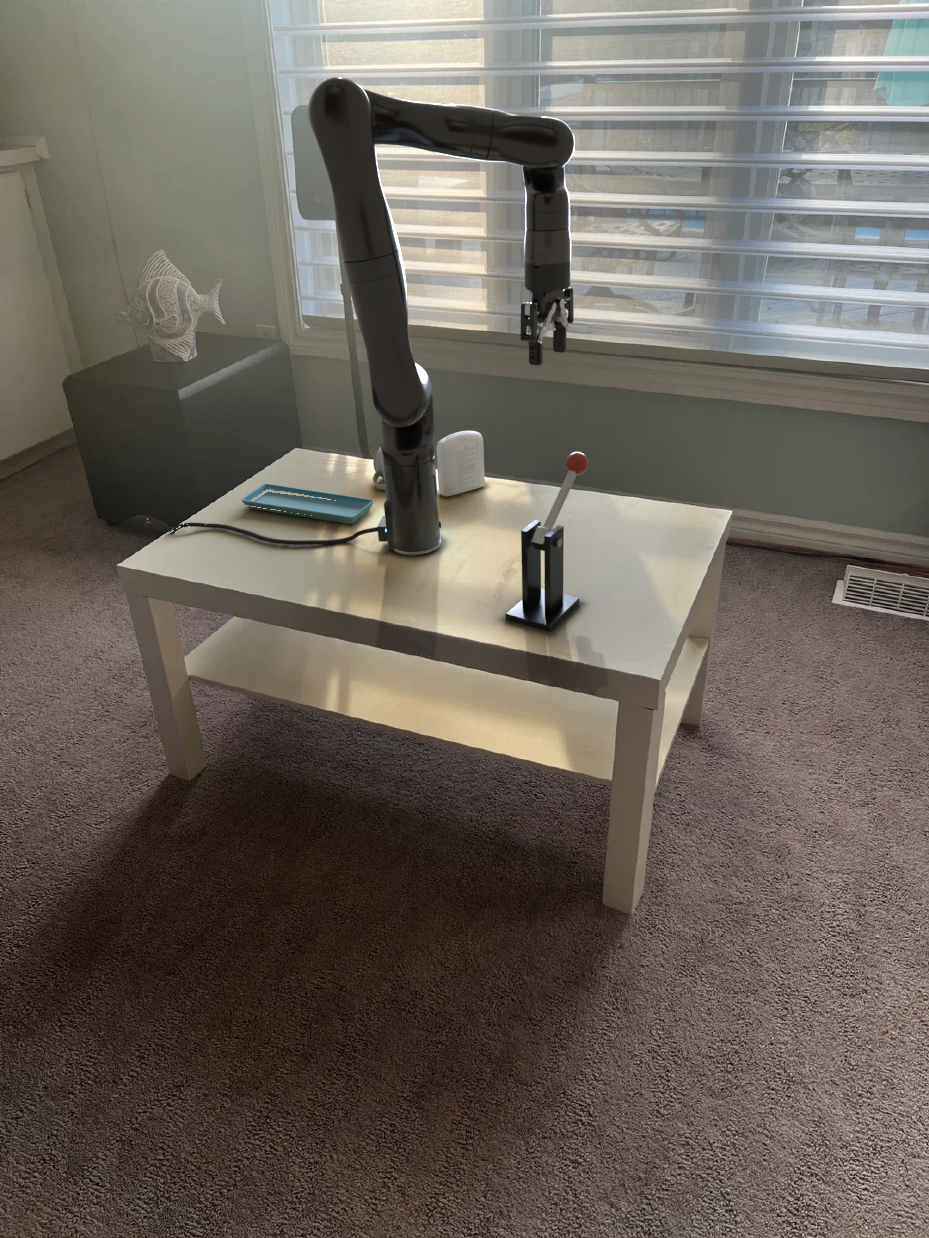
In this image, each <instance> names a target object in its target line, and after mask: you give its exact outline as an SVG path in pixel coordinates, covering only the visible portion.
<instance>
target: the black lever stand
mask: <svg viewBox="0 0 929 1238" xmlns="http://www.w3.org/2000/svg"><path fill="white" fill-rule="evenodd" d="M541 525H542V523H541V520H538V519H534V520H533V521H532V522H531V523H529V524H528V525H526V526H525V527H524V528H523V529H521V530H520V543H521V545H520V547H521V549H520V550H521V587H522V588H521V595H522V596H521V597H522V598H521V600H520V601H518V602H517V603H516V604H515V605H514V606H512V607H511V609H509V610H508V611H507V612H506V613H505V620H506V621H509V622H513V623H517V624H520V625H522V626H523V625H524V626H528V627H530V628H534V629H538V630H542V631H544V632H548V633H551V632H552V631H553V630H554V629H555V628H556V627H557V626H558V625H559V624H560V623H561V622H562V621H563V620H564V619H565V618H566V617H567V616H568V615H569V614H571V613H572V611H574V609H575V608H576V607H578V605H580V597H578V596H574V595H570V594H565V593H564V552H565V551H564V546H565V545H564V544H565V542H564V538H565V537H564V536H565V535H564V533H565V532H564V531H565V529H564V528H565V527H564V525H560V524H557V525H555V527H553V528H552V530H551V531H550V532H549V533H547V534H546V535H545V536H544V551H543V552H544V553H543V554H544V555H543V556H544V561H543V563H544V588H543V587H542V550H538V549H535V548H534V546H533V545H532V543H531V539H532V537H533V535H534V533H535V531H536V529H537V526H539V527H542V526H541Z"/></svg>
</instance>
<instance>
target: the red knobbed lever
mask: <svg viewBox="0 0 929 1238" xmlns="http://www.w3.org/2000/svg"><path fill="white" fill-rule="evenodd" d="M589 463H590V462H589V459H588V457H587V455H586V454H585V453H583V452H581V451H574V452H571V453H570V454H568V456H567V457H566V459H565V468H566V470H567V471H568V472H567V474H566V476H565V478H564V480H563V483H562V485H561V486H560V488H559V492H558V494H557V496H556V498H555V500H554V502H553V505H552V506H551V508H550V511H549V513H548V515H547V517H546V520H545V522H544V524H543V526H541V527H539V526H537V529H536V531H535V533H534V535H533V537H532V539H531V543H532V545H533V546H534V548H535V549H538V550H541V552H544V536H545V535H546V534H547V533H549V532H550V531H551V530H552V529H554V526H555V523H556V521H557V519H558V517H559V515H560V514H561V513H560V512H561V511H562V509H563V506H564V504H565V502H566V500H567V498H568V496H569V493H570V491H571V488H572V486H573V484H574V482H575V480H576V477H577V476H580V475H583V474H584V473H586V471H587V470H588V468H589V465H590V464H589Z"/></svg>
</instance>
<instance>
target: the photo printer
mask: <svg viewBox="0 0 929 1238" xmlns="http://www.w3.org/2000/svg"><path fill="white" fill-rule="evenodd" d="M435 448H436V467H437V481H438V482H437V483H438V484H437V485H438V491H439V494H440V495H441V496H443V497H451V496H455V495H459V494H462V493H466V492H469V491H473V490H477V489H479V488H482V487H484V486H485V485H486V479H485V452H484V451H485V450H484V449H485V448H484V438H483V436H482V434H481V432H478V431H476V430H462V431H457V432H453V433H451V434H448V435H446V436H444V437H442V438H441V439H440V440H438V442H437V443H436V447H435Z"/></svg>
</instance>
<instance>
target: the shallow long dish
mask: <svg viewBox="0 0 929 1238" xmlns="http://www.w3.org/2000/svg"><path fill="white" fill-rule="evenodd" d="M266 489H268V490H269V489H271V490H274V491H285V492H291V493H298V494H304V495H309V496H314V497H322V498H327V499H331V500H327V499H319V498H311V497H304V496H296V495H288V494H280V493H272V492H267V493H265V494H264V495H262V496H261V497H259V498H258V499H256V500H255V501H251V500H252V499H253V498H254V497H257V496H258V495H259V494H261V493H262V492H263V491H265V490H266ZM334 500H336V501H334ZM240 501H241V502H242V503H243V504H244V505H245V506H246V505H249V506H246V507H247V508H248V509H251V510H252V509H253V510H256V511H257V510H258V511H264V512H270V513H276V514H282V515H287V516H289V515H290V516H293V517H294V516H295V517H302V518H307V519H308V518H309V519H315V520H321V521H327V522H335V523H339V524H346V525H353V524H354V523H356V522H357V521H358V520H359V519H361V518H362V517H363V516H364V515H365V514H367V513H368V512H369V511H370V510H371V508H372V506H373V504H374V502H375V499H371V498H364V497H358V496H353V495H352V496H351V495H346V494H345V495H344V494H337V493H332V492H331V493H330V492H324V491H317V490H312V489H311V490H310V489H304V488H297V487H293V486H292V487H291V486H285V485H280V484H274V483H273V484H271V483H263V484H262V485H260V486H258V487H257V488H256V489H255V490H253V491H252V492H250V493H249V494H247V495H246V496H244V497H242V498H241V500H240ZM250 506H256V507H250ZM257 507H261V508H257ZM263 508H267V509H263ZM270 509H276V510H270ZM277 510H281V511H277ZM284 511H286V512H284ZM291 512H292V513H291ZM297 513H299V514H297ZM304 514H305V515H304ZM311 515H312V516H311Z"/></svg>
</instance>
